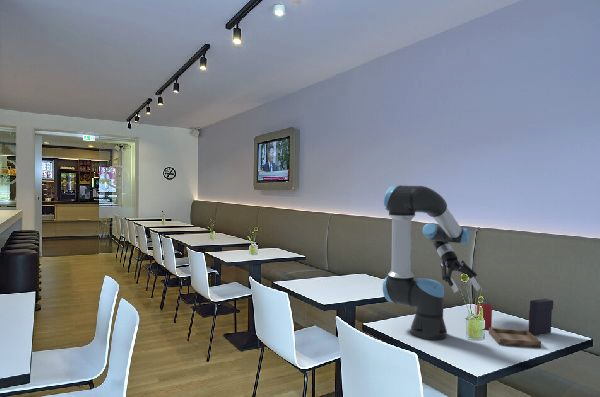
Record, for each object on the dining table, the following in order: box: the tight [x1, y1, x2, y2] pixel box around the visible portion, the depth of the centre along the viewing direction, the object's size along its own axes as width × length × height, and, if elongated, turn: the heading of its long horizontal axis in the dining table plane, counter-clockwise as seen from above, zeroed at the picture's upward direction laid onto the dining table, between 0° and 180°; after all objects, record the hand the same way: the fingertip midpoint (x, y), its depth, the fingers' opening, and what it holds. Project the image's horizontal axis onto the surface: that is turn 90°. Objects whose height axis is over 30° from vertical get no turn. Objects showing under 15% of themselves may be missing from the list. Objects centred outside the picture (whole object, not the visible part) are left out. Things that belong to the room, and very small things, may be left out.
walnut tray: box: [488, 327, 542, 349], centre depth 176 cm, size 16×14×2 cm
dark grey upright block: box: [527, 298, 554, 337], centre depth 186 cm, size 11×4×15 cm, turn 115°
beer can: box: [475, 299, 493, 330], centre depth 192 cm, size 7×7×12 cm
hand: (467, 290), depth 202 cm, fingers open, 13 cm apart
